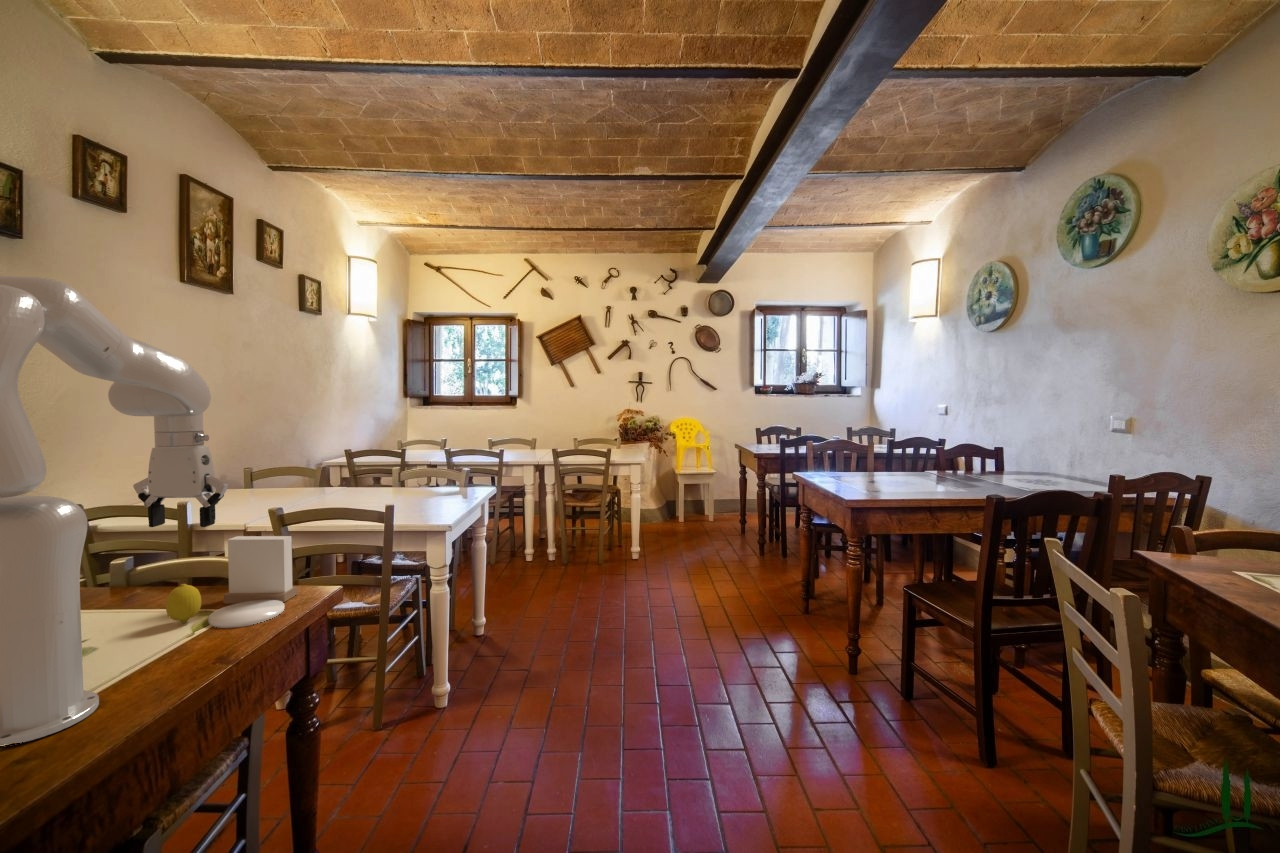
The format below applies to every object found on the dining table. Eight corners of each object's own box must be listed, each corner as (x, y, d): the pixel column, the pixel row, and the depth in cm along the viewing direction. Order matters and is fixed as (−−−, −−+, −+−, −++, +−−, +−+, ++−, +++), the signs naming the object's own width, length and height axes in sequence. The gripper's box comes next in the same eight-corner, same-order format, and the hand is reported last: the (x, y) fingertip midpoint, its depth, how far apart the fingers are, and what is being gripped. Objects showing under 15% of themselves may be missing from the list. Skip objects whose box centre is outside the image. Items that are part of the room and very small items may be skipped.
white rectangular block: (284, 603, 123) (283, 540, 122) (223, 603, 122) (222, 540, 122) (297, 595, 128) (296, 535, 127) (239, 595, 127) (237, 535, 127)
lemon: (186, 628, 109) (185, 588, 108) (158, 628, 109) (157, 588, 108) (209, 617, 114) (207, 579, 114) (182, 617, 114) (181, 579, 114)
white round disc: (260, 627, 110) (260, 622, 110) (191, 628, 109) (191, 623, 109) (297, 603, 123) (297, 599, 123) (236, 604, 122) (236, 599, 122)
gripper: (237, 439, 114) (239, 521, 115) (149, 438, 113) (152, 521, 114) (211, 442, 107) (213, 530, 107) (117, 441, 106) (120, 530, 107)
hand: (182, 525), depth 111 cm, fingers open, 9 cm apart
